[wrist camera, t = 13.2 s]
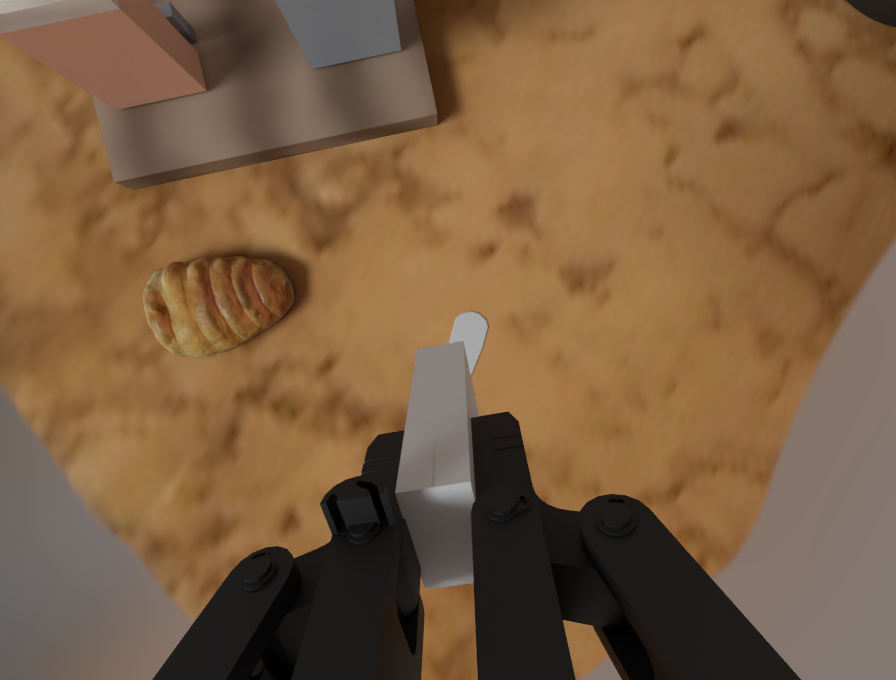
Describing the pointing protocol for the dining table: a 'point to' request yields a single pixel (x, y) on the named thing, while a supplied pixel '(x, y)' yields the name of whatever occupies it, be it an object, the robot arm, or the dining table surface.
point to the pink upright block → (106, 47)
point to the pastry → (215, 303)
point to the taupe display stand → (264, 96)
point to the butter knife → (470, 335)
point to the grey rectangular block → (341, 29)
